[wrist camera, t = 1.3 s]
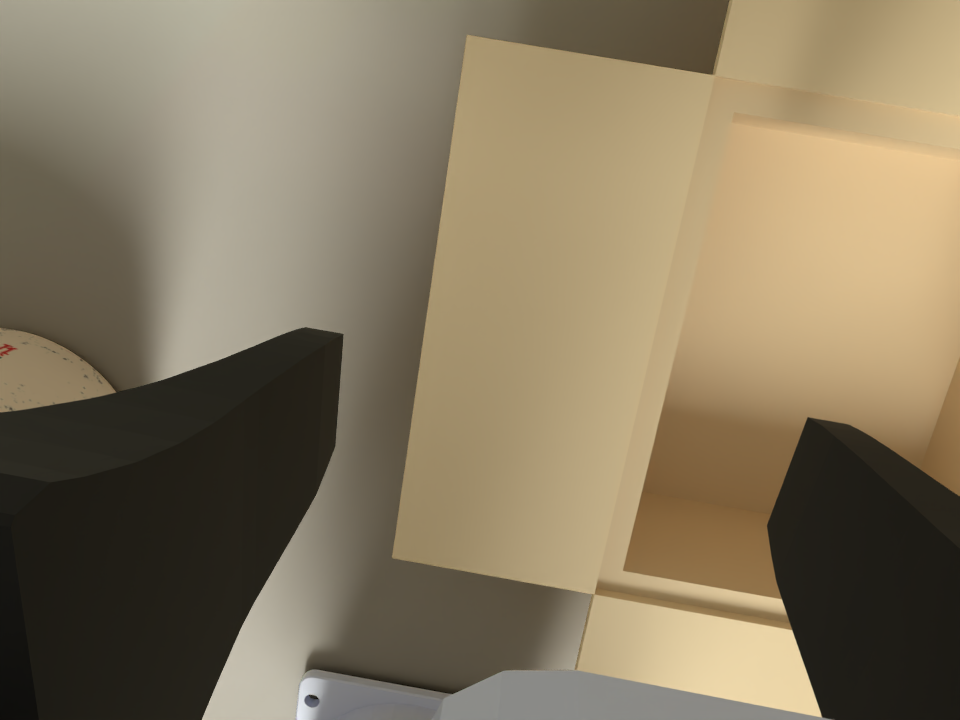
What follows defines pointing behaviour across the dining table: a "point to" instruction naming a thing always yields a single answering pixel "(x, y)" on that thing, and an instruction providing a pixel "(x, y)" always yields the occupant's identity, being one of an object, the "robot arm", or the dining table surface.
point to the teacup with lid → (43, 373)
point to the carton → (686, 320)
